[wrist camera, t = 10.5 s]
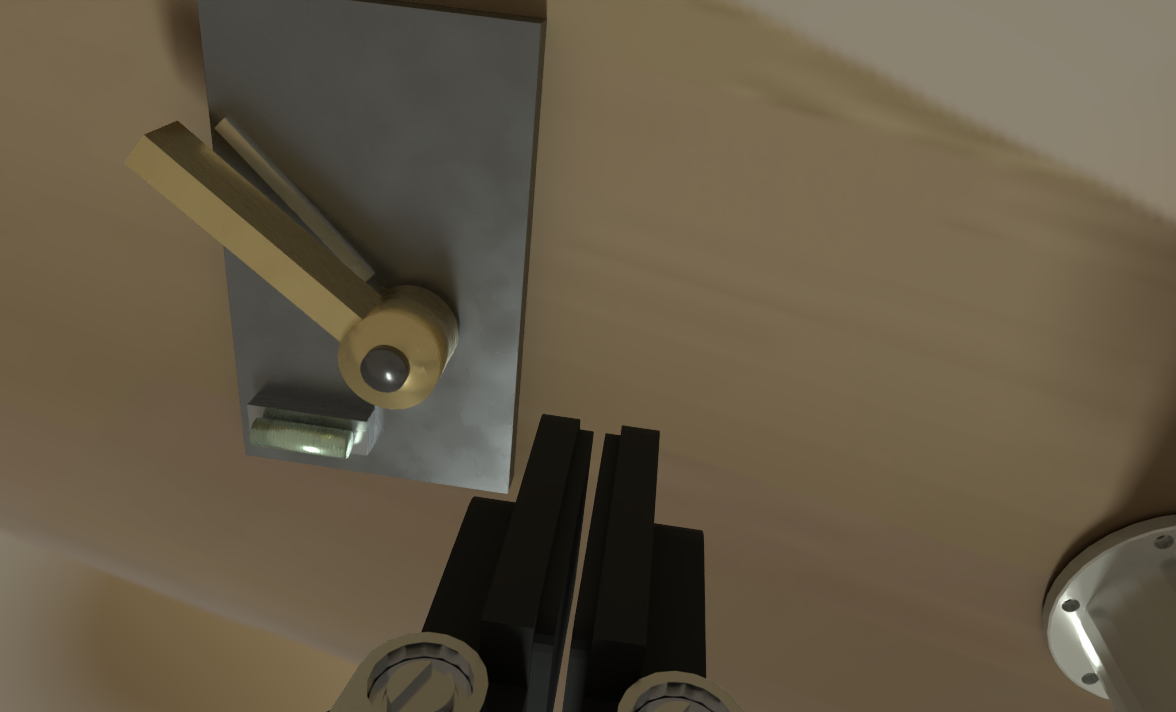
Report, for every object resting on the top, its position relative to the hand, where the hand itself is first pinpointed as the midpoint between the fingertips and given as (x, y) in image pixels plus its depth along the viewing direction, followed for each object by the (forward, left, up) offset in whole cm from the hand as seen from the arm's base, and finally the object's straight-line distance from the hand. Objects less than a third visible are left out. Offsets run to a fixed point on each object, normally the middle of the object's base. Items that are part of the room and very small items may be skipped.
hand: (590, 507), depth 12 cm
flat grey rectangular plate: (+12, +8, -27) cm, 31 cm away
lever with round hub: (+14, +8, -25) cm, 30 cm away
